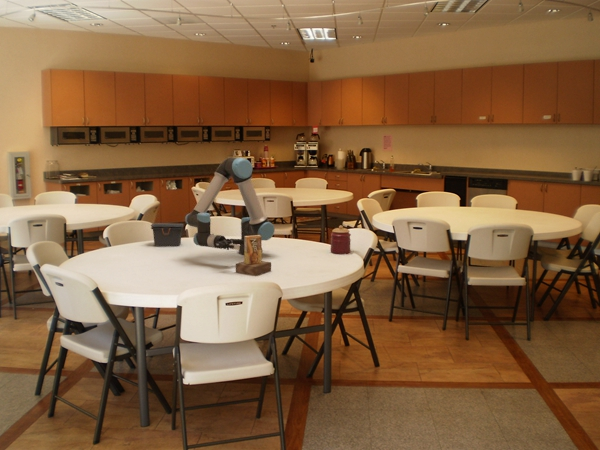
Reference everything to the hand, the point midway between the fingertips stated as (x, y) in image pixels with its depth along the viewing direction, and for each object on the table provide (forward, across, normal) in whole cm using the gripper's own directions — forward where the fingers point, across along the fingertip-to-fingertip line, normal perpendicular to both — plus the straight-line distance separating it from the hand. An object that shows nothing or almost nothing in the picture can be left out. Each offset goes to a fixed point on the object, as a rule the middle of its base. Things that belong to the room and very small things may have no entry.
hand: (246, 245), depth 350 cm
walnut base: (+5, 0, +14) cm, 15 cm away
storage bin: (-89, +30, +15) cm, 95 cm away
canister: (+19, +76, +14) cm, 79 cm away
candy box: (+5, -1, +10) cm, 11 cm away
